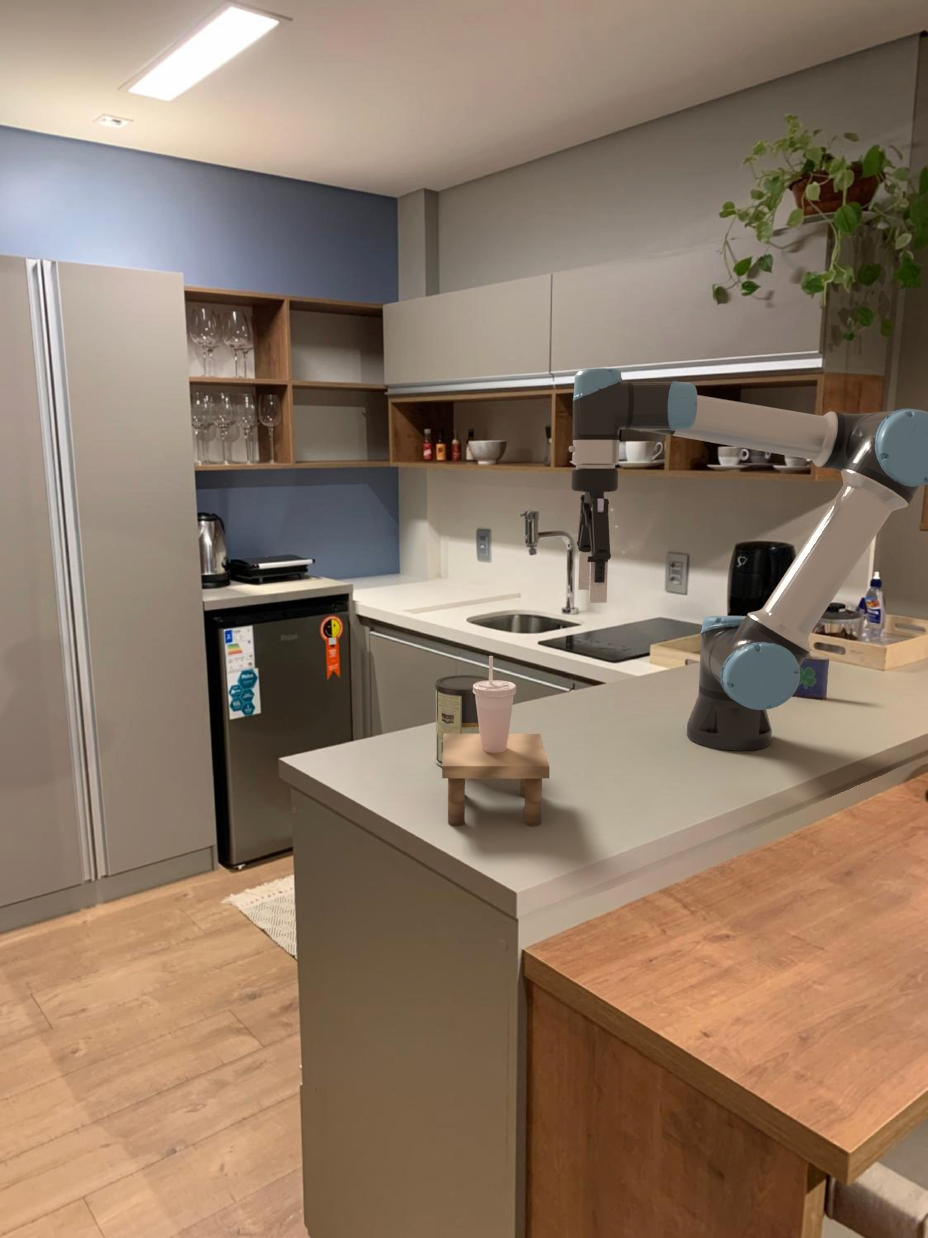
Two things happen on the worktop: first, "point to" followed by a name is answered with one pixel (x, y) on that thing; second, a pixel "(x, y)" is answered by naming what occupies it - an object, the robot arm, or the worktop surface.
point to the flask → (813, 678)
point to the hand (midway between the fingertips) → (591, 595)
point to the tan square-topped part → (494, 770)
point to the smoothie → (494, 711)
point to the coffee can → (455, 708)
